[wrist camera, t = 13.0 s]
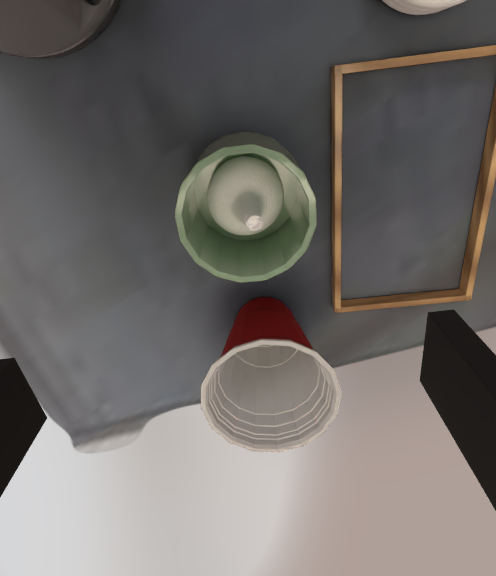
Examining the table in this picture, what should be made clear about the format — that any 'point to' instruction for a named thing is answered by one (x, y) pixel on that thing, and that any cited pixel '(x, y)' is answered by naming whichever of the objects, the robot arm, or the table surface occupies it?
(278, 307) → the plastic cup
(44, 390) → the table surface
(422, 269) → the table surface
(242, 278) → the cup
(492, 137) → the frame
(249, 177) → the garlic bulb
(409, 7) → the coaster
